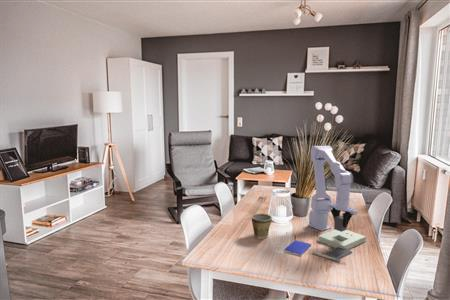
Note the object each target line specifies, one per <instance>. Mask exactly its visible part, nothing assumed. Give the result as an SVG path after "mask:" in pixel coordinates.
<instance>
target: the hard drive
mask: <svg viewBox="0 0 450 300" xmlns="http://www.w3.org/2000/svg"><path fill="white" fill-rule="evenodd" d="M311 247H312V244H311V243H309V242H304V241H301V240H297V239H295V240H293V241H292V242H291V243H290V244H289V245H287V246H286V247H285V248H284V249H283V252H285V253H289V254H291V255H296V256H298V257H302V256H303V255H304V254H305V253H306V252H307V251H308V250H309V249H311Z"/></svg>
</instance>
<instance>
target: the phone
mask: <svg viewBox="0 0 450 300" xmlns="http://www.w3.org/2000/svg"><path fill="white" fill-rule="evenodd" d="M350 254H352V250H350V249H342V248H340V247H337V248H335V247H334V248H333V249H331V250H328V251H325V252H324V255H327V256H330V257H333V258H337V259H340V260H341V258H344V257H346V256H348V255H350Z"/></svg>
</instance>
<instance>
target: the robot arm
mask: <svg viewBox="0 0 450 300" xmlns="http://www.w3.org/2000/svg"><path fill="white" fill-rule="evenodd" d="M310 160H311V162H312V163H313V170H314V171H313V172H314V182H315V194H314V195H312V196H311V203H310V207H311V210H310V212H309V214H308V215H309V216H308V223H307V226H309V227H311V228H312V229H313V228H314V229H316V230H318V231H320V232H323V231H326V230H329V229H331V228H332V227H331V226H329V213H331V215H332V218H333V222H334V221H335V217H336V216H339V215H341V212H343V213H342V215H341V216H343V227H344V228H345V227H347V228H348V225H349V222H350V220H351V219H352V216H357V215H358V210H356V209H355V208H352V207H351V206H349V205H350V194H351V191H350V190H351V185H353V183H354V175H353V173H352V172H351V171H348V170H346V169H345V167H344V166H343V164H342V163H341V162H339V161H337V160H336V158H335V156H334V154H333V147H332V146H331V145H313V146H312V147H311V149H310ZM326 162H327V164H328V165H329V170H330V172H331V173H332V174H333V176H334V181H335V188H336V197H335V203H333V201H332V197H331V196H330V195H329V194H328V193H327V189H326V188H327V187H326V180H325V178H326V177H325V168H324V164H325V163H326Z"/></svg>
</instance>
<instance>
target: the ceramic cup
mask: <svg viewBox="0 0 450 300" xmlns="http://www.w3.org/2000/svg"><path fill="white" fill-rule="evenodd" d="M272 219H273V218H272V216H271V215H269V214H266V213H255V214H253V215H251V224H252V228H253V236H254V238H257V239H258V238H259V240H264V239H267V238H268V235H269V230H270V226H271V224H272Z"/></svg>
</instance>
